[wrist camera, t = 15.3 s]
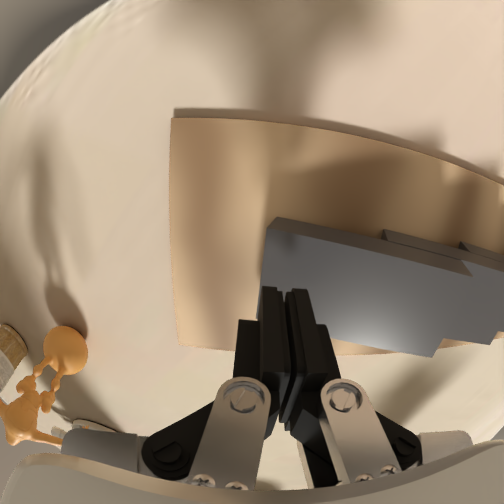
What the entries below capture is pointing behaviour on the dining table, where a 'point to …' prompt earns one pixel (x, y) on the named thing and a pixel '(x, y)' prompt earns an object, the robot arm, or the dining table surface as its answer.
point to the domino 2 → (478, 296)
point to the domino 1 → (366, 285)
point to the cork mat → (300, 210)
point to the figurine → (26, 407)
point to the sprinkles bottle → (10, 353)
